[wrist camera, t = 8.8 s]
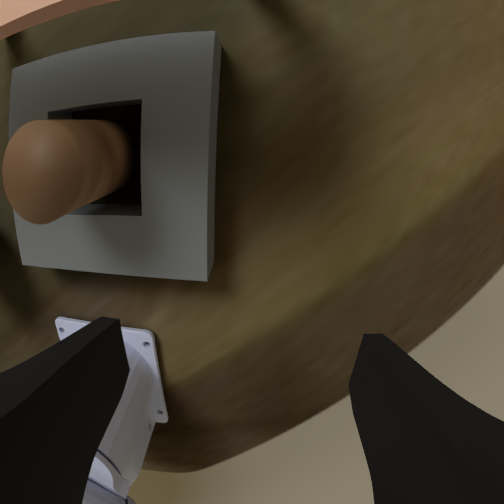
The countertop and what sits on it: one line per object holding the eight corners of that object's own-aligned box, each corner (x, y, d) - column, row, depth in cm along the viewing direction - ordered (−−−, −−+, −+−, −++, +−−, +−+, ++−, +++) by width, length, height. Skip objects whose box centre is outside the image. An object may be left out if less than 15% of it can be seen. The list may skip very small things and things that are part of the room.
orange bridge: (259, 63, 14) (257, -29, 5) (-3, 98, 14) (-115, 107, 5) (264, -29, 12) (265, -150, 3) (7, 23, 12) (-92, 4, 3)
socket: (214, 262, 18) (207, 281, 16) (43, 250, 18) (22, 264, 16) (221, 45, 14) (215, 30, 11) (36, 72, 14) (12, 68, 12)
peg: (145, 188, 17) (81, 223, 10) (85, 191, 17) (8, 225, 10) (143, 116, 15) (74, 111, 9) (82, 125, 15) (0, 130, 9)
